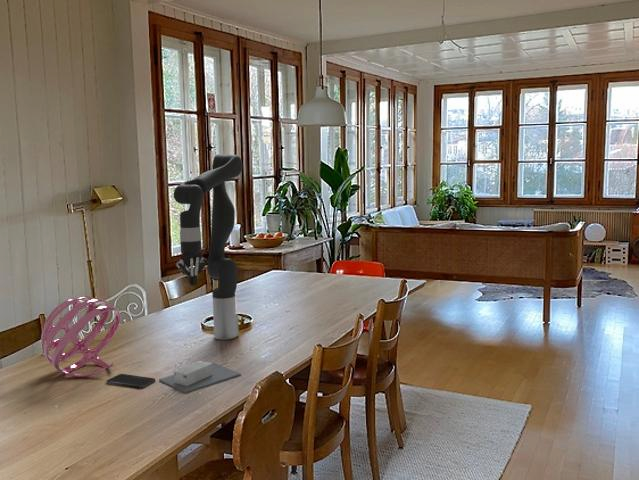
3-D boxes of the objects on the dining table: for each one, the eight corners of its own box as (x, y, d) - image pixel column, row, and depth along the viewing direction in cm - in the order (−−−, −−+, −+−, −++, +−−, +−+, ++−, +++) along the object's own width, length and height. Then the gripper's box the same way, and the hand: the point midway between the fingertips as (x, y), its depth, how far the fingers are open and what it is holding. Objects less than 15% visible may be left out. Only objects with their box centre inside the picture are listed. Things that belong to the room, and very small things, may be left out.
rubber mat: (213, 364, 219) (213, 362, 219) (240, 375, 208) (240, 373, 208) (159, 380, 204) (159, 379, 204) (185, 393, 193) (184, 391, 193)
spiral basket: (150, 315, 213) (96, 269, 219) (87, 356, 191) (28, 303, 197) (134, 364, 229) (83, 320, 235) (74, 407, 207) (19, 357, 213)
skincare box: (200, 371, 210) (173, 384, 200) (199, 359, 209) (172, 371, 200) (213, 375, 207) (187, 387, 197) (212, 362, 206) (186, 374, 196)
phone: (141, 386, 197) (104, 381, 203) (142, 390, 197) (105, 384, 203) (156, 378, 204) (120, 373, 210) (157, 381, 204) (121, 376, 210)
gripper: (200, 236, 230) (202, 281, 233) (169, 240, 221) (171, 287, 224) (211, 238, 225) (213, 284, 227) (180, 242, 216) (182, 290, 218)
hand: (192, 285), depth 226 cm, fingers closed
